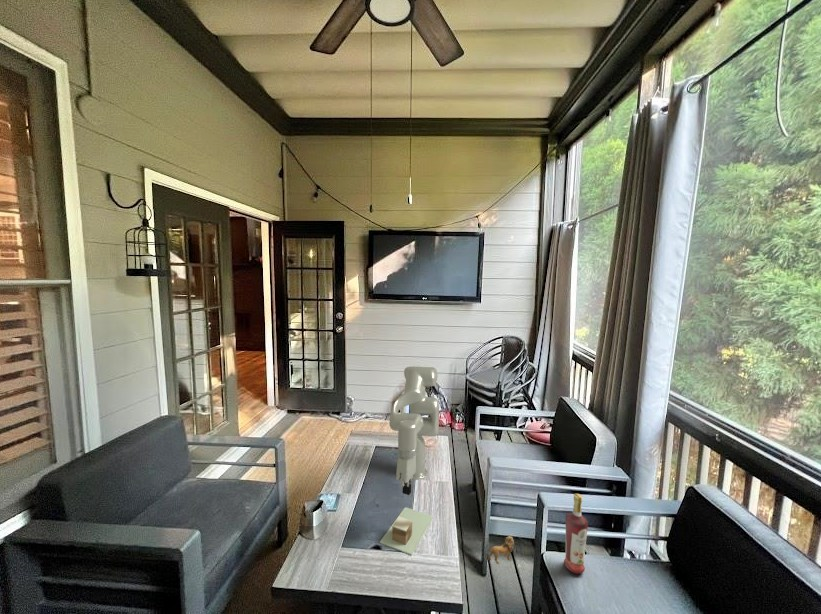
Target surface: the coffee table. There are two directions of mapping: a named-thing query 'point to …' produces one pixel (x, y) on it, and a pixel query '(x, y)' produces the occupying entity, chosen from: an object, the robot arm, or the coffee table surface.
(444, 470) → the coffee table surface
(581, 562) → the liquor
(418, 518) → the rubber mat
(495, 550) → the lion figurine
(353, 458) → the coffee table surface
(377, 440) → the coffee table surface
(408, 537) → the walnut cube
